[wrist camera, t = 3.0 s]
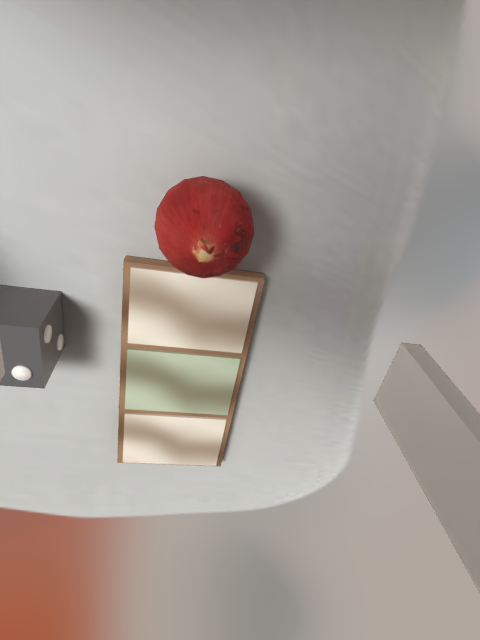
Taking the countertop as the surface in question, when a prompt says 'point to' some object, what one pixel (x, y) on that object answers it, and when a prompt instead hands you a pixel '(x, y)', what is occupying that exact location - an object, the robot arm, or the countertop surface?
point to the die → (30, 335)
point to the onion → (204, 227)
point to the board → (181, 360)
